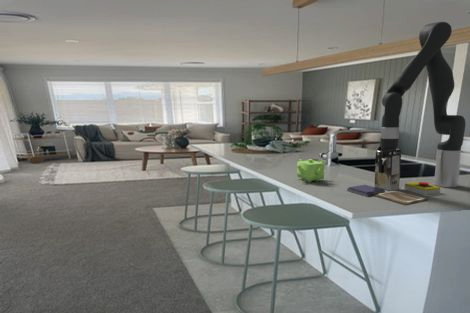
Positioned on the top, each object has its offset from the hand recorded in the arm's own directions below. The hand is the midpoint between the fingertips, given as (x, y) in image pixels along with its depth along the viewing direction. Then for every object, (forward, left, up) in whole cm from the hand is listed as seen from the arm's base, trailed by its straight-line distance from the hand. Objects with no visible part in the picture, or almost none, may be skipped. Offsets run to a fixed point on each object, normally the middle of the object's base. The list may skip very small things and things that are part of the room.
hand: (387, 172), depth 144 cm
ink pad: (+14, +1, -8) cm, 16 cm away
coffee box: (0, 0, -8) cm, 8 cm away
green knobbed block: (+20, -30, -8) cm, 37 cm away
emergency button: (-9, +11, -8) cm, 16 cm away
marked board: (+9, +14, -8) cm, 18 cm away
